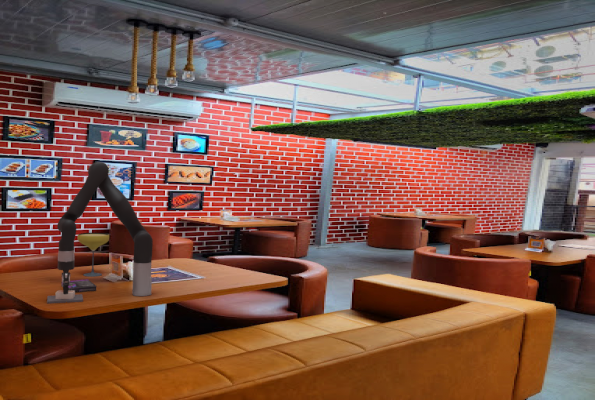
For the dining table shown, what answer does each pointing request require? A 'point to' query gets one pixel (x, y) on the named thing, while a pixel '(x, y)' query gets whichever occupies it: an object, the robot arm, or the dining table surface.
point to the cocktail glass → (93, 245)
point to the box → (81, 286)
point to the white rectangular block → (65, 295)
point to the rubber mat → (76, 299)
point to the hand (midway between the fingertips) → (65, 292)
